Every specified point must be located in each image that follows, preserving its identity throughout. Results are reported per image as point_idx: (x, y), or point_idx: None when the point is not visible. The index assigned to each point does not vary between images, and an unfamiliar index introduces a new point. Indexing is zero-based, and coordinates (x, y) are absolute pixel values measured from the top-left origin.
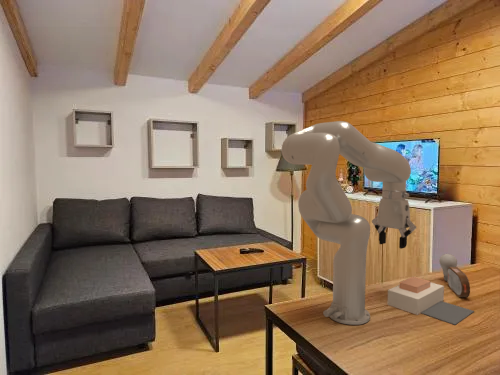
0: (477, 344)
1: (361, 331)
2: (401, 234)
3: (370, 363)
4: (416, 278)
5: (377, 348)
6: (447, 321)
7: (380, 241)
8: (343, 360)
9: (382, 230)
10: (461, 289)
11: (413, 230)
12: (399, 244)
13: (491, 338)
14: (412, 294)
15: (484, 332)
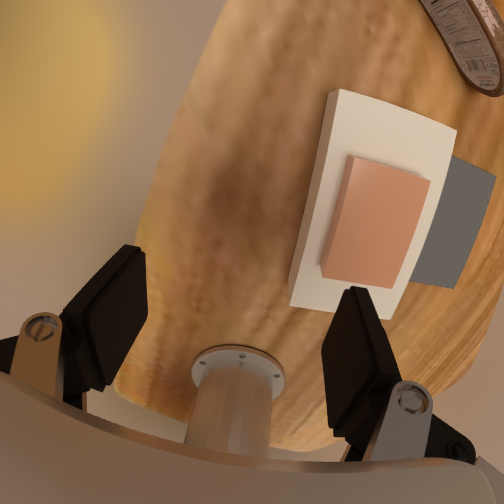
0: (469, 332)
1: (287, 403)
2: (350, 459)
3: (326, 439)
4: (375, 179)
5: (326, 420)
6: (441, 286)
7: (133, 334)
8: (296, 446)
9: (69, 381)
10: (485, 88)
11: (480, 468)
12: (324, 371)
13: (495, 297)
14: (372, 294)
15: (492, 281)
